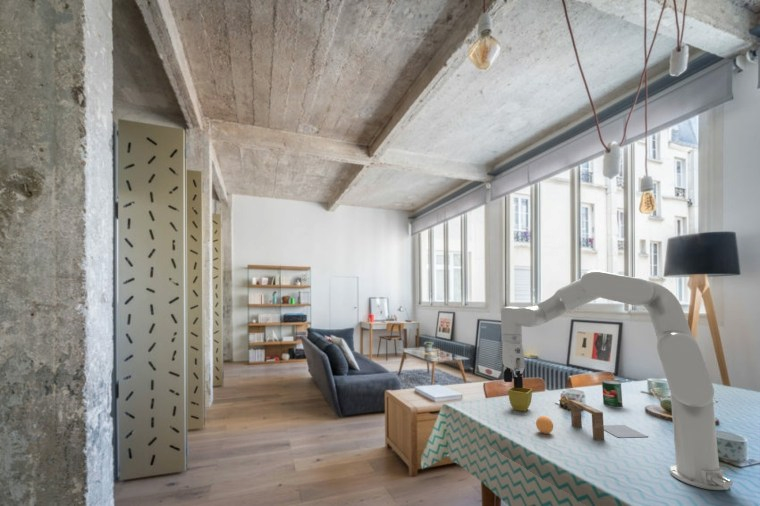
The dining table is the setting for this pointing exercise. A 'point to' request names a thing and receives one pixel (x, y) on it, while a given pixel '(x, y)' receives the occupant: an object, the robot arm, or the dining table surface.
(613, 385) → the canned tomato
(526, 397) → the flower pot
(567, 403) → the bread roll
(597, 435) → the bridge
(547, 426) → the ball
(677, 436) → the robot arm
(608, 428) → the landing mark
